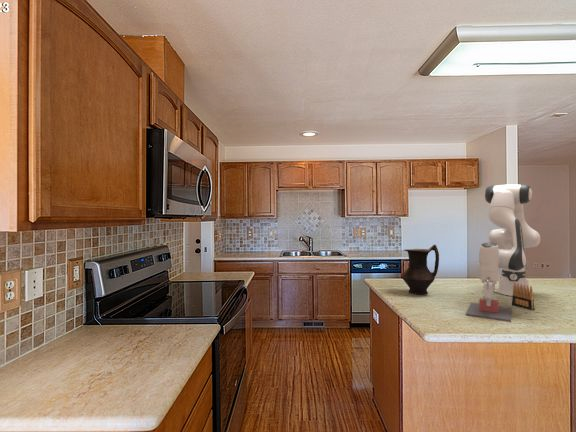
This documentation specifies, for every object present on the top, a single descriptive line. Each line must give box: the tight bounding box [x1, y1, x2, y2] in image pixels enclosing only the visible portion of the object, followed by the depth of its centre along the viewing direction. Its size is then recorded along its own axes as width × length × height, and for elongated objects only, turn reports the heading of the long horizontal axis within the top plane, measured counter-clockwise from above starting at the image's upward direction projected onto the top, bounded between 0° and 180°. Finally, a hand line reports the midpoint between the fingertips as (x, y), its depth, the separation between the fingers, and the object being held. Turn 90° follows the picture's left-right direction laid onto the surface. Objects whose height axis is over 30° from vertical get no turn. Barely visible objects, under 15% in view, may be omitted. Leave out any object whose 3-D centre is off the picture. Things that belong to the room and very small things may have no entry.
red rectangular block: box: [478, 298, 500, 313], centre depth 168 cm, size 8×4×5 cm, turn 57°
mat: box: [465, 302, 512, 322], centre depth 168 cm, size 24×18×1 cm
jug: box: [401, 244, 440, 296], centre depth 206 cm, size 21×18×30 cm
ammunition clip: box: [511, 283, 535, 311], centre depth 176 cm, size 11×2×12 cm, turn 17°
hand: (489, 304), depth 168 cm, fingers open, 5 cm apart
